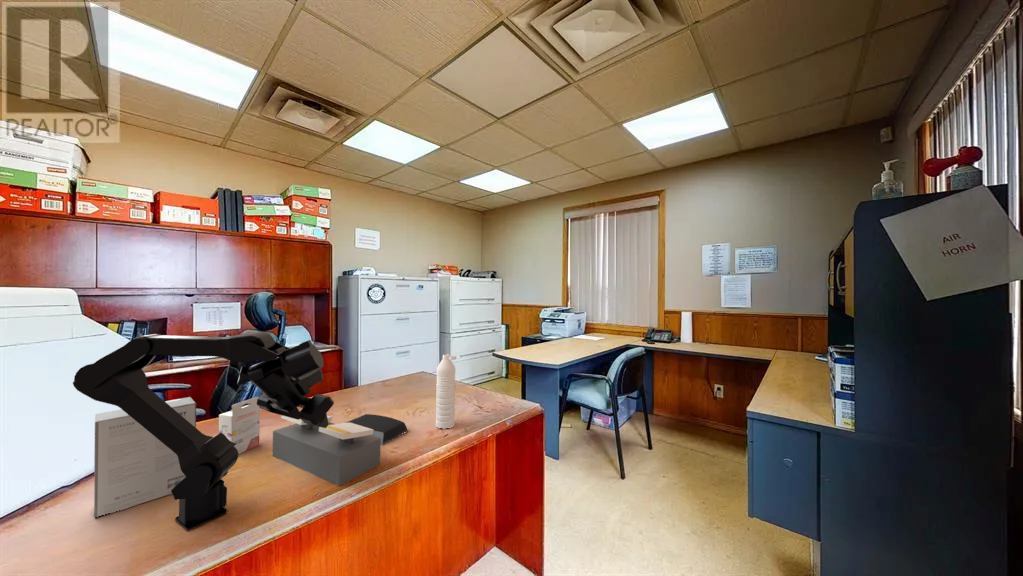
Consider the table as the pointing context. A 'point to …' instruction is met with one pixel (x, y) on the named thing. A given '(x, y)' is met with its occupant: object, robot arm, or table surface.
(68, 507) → the table surface
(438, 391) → the water bottle
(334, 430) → the rocker amber
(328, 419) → the rocker grey
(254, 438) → the ink cartridge box
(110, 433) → the hard drive box
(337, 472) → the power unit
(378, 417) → the external hard drive
